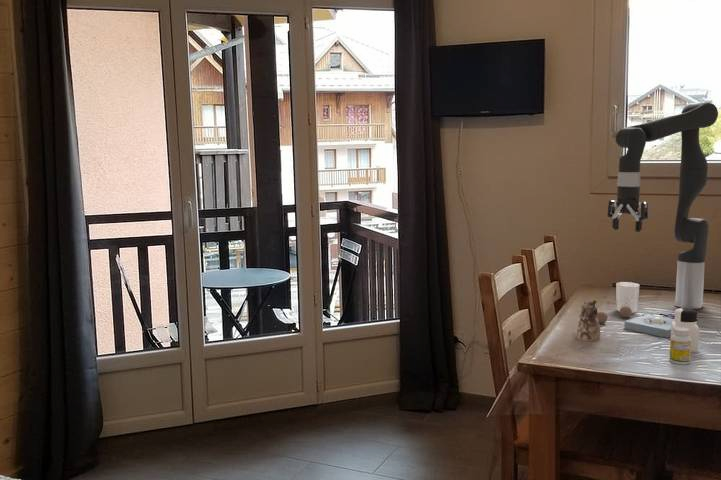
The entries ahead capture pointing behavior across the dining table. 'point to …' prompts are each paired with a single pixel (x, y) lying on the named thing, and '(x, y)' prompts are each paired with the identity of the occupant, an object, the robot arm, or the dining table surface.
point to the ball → (657, 320)
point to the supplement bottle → (680, 346)
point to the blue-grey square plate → (650, 325)
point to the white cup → (627, 295)
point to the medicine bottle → (687, 325)
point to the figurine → (588, 323)
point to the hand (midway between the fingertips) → (626, 230)
